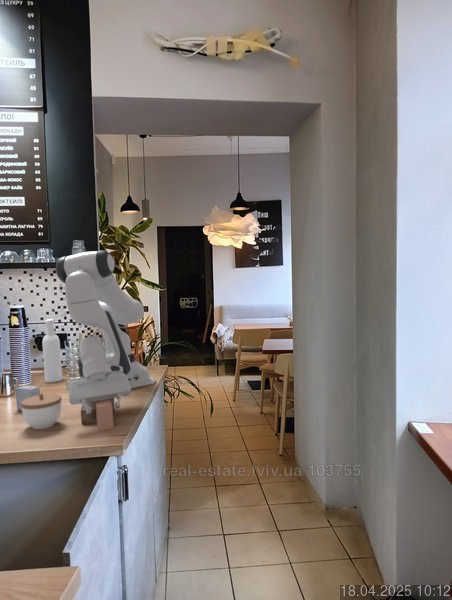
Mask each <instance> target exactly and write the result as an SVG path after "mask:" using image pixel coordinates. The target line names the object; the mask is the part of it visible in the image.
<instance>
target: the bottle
mask: <svg viewBox="0 0 452 600" xmlns="http://www.w3.org/2000/svg"><path fill="white" fill-rule="evenodd" d="M45 333H46V334H45V335H44V336H43V338H42V341H41V343H42V345H41V346H42V354H43V367H44V368H43V370H44V382H45V383H50V384H51V383H57V382H58V383H59V382H61V381H62V380H63V367H62V354H61V342H60V338H59V336H58V335H57V334H56V333H55V320H54V319H53V318H50V319H45Z"/></svg>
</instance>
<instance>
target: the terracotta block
mask: <svg viewBox="0 0 452 600" xmlns="http://www.w3.org/2000/svg"><path fill="white" fill-rule="evenodd" d="M96 417H97V422H96V426H97V429H98V431H99V432H100V431H106V430H110V428H111V429H114V420H113V412H112V404H111V402H110V401H105V402H99V403H96ZM105 429H106V430H105Z"/></svg>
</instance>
